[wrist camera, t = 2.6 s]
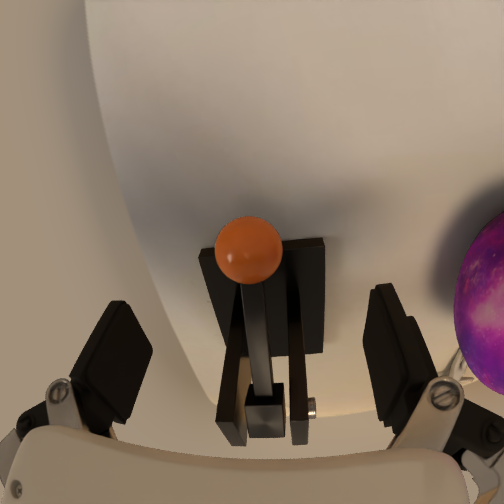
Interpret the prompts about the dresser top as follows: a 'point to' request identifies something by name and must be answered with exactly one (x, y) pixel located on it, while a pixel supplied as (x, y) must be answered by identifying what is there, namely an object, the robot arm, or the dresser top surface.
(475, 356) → the decorative orb
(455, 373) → the figurine
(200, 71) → the dresser top surface
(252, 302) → the switch lever
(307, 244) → the switch bracket
